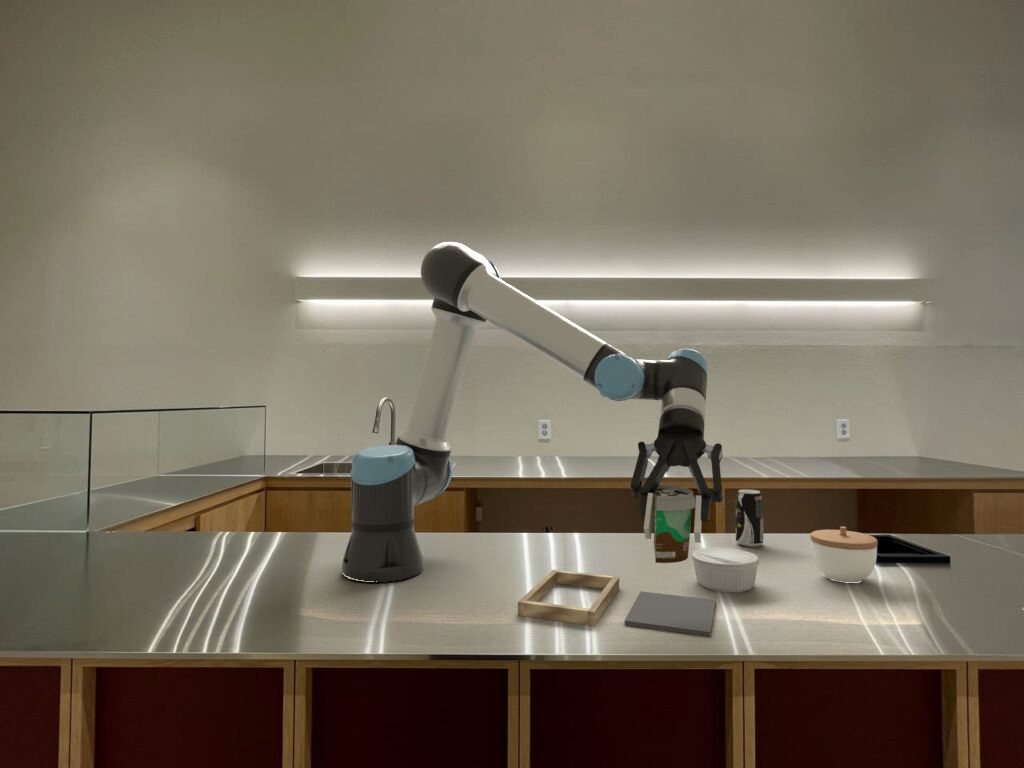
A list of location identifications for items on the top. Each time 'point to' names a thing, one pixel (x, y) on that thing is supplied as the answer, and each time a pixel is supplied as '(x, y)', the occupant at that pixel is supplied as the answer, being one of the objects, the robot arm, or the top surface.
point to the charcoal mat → (672, 613)
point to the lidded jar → (844, 554)
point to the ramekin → (725, 569)
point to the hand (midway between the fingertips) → (671, 535)
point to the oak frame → (567, 613)
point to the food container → (672, 523)
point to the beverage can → (749, 518)
